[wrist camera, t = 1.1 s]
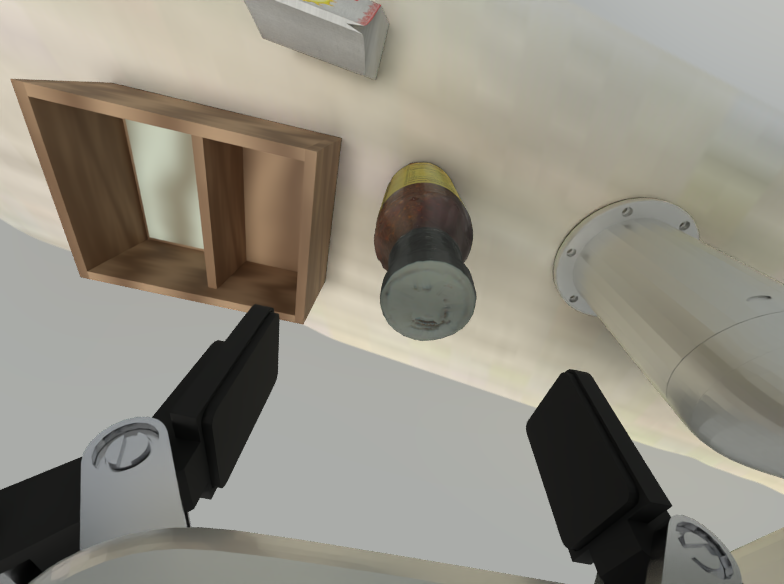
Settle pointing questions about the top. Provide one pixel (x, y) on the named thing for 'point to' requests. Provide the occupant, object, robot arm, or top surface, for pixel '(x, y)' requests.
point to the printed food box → (326, 30)
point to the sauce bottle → (424, 254)
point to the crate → (185, 194)
